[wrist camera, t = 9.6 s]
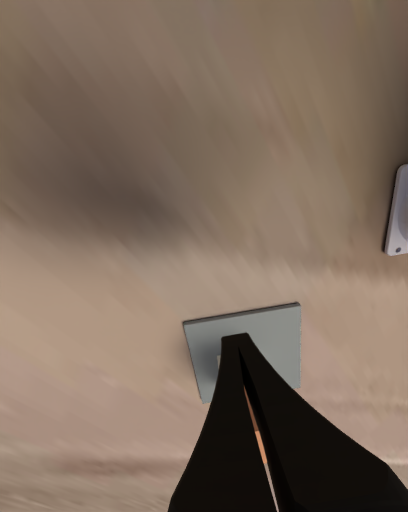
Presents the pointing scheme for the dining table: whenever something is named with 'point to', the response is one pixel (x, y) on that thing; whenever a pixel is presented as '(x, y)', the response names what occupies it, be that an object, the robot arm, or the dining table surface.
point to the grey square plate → (261, 332)
